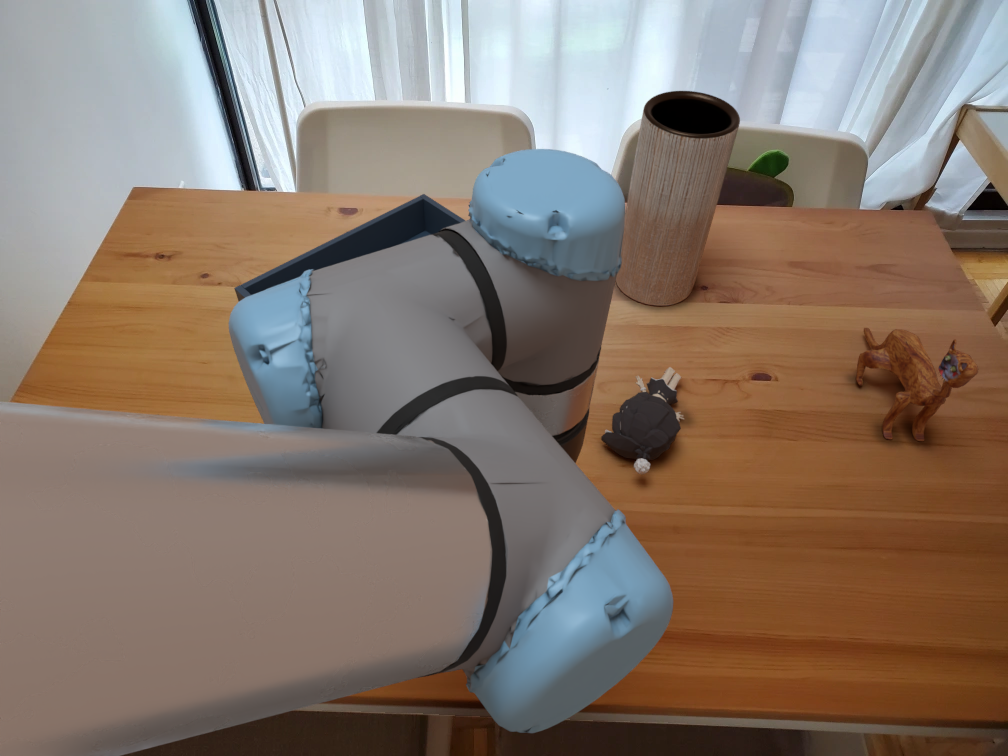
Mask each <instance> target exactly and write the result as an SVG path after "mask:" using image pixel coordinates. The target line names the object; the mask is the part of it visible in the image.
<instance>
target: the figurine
mask: <svg viewBox="0 0 1008 756" xmlns="http://www.w3.org/2000/svg"><path fill="white" fill-rule="evenodd" d="M634 378H635V379H636V381H635V382H634V383H635V384H636V385H637V386H638V387H639V388H640V389H639V390H640V392H637V393H636V394H635V395H633V396H632V397H630V398H627V399H625V400H624V402H623V403H622V404H621V405H620V406H619V411H617V412H615V413H613V415H612V419H611V422H612V423H611V430H612V431H611V430H608V429H605V430H604V434H602V436H601V437H600V439H601V441H602V442H603V443H604V444H605V445H606V446H607V447H609V448H610V449H611V450H612V451H614V453H616V454H618V455H619V456H620V457H623V458H625V459H631V460H636V461H634V463H633V468H634V470H635V472H636V473H637V474H640V475H645V474H647V473H648V472H649V471H650V470H651V469H650V468H651V463H650V462H649V461H653V460H656V459H658V458H659V457H660V456H661V454H663V453H665V452H667V451H668V450H669V449H670V448H671V445H672V443H674V442H675V440H676V438H677V434H678V433H679V432H680V431H681V429H682V428H681V424H680V421H681V420H683V421H684V420H685V418H684V415H685V414H681V413H682V412H681V411H678V412H676V411H675V409H674V408H673V407H672V405H674V404H677V403H679V400H678V398H677V396H678V391H677V389H676V388H677V386H678V385H679V382H680V381H681V379H682V376H681V375H680V374H679V373H678V372H676V370H675V369H673V368H672V367H671V366H669V367H668V368H666V369H665V371H664V372H663V375H662V376H661V377H660V378H657V379H656V378H653V377H650V379H649V382H647V383H646V387H647V388H646V387H645V384H644V381H643V378H642V377H640V376H639V375H637V376H636V375H635V377H634ZM647 390H648V391H647ZM680 419H681V420H680Z"/></svg>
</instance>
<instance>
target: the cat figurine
mask: <svg viewBox="0 0 1008 756" xmlns="http://www.w3.org/2000/svg"><path fill="white" fill-rule="evenodd" d="M863 334H864V337H865V339H866V341H867V344H868V347H869V348H870V349H868V350H865V351H864V352H862V353H860V354H859V355H858V358H857V364H856V374H855V375H856V376H855V380H856V383H857V384H858V385H859V386H861V387H862V386H863V385H864V381H863V377H864V374H865V371H866V367H867V368H869V369H870V370H872V369H874V370H875V369H884V370H887V371H888V372H891V373H892V374H894V376H896V378H897V379H898V380H899V381H900V383H901V385H902V386H903V389H904V391H898V392H896V394H895V400H894V403H893V405H892V406H891V408H890V409H889V410H888V411H887V413H886V414H885V416H884V418H883V421H882V426H881V429H882V436H883V438H884V439H886V440H893V439H894V437H893V431H892V430H893V426H894V423H895V421H896V419H897V417H898V416H899V415H900V414H901V413H903V412H904V410H905V409H906V407H907V406H908V405H910V404H912V405H916V406H918V407H923V408H922V409H921V410H919V412H918V413H917V415H916V417H915V418H914V420H913V422H912V426H911V432H912V433H911V434H912V436H913V439H914V440H915V441H917V442H924V441H925V428H926V425H927V422H928V421H929V420H930V418H931V417H933V416H934V415H935V414H936V413H937V411H939V409H940V407H942V405H945V403H946V402H947V398H949V397H950V395H951V393H952V389H959V388H961V387H964V386H966V385H967V384H968V383H969V382H970V381H971V380H972V379H974V377H975V376H977V375H978V373H979V371H980V369H979V366H978V364H977V362H976V361H975V359H974V358H973V356H971V355H970V354H967V353H966V352H964V351H961V350H959V349H957V339H956V338H954V339H953V340H952V342H951V343H950V346H949V348H948V351H947V353H946V354H945V355H944V356H943V358H942V359H941V361H940V364H939V365H938V368H937V369H938V373H939V374H940V375H939V377H942V378H941V380H943V381H942V385H941V384H940V381H939V379H938V375H937V371H936V369H935V366H934V363H933V362H932V360H931V357H930V356H929V354H928V353H927V350H926V349H925V348H924V346H923V342H922V341H921V338H920V336H919V335H917V334H915V333H913V332H912V331H909V330H906V329H900V328H895V329H892V331H891V332H889V334H888V335H887V336H886V338H885V339H884V341H882V343H881V344H879V343H878V342H877V341H876V339H875V337H874V335H873V332H872V331H871V329H870V328H868V327H863Z"/></svg>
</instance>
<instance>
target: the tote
mask: <svg viewBox="0 0 1008 756" xmlns="http://www.w3.org/2000/svg"><path fill="white" fill-rule="evenodd" d="M464 221H467V220H466V219H464V218H462V217H461V216H459V215H458V214H456V213H455V212H453V211H452V210H450V209H448V208H447V207H445V206H444V205H442V204H441V203H439V202H438V201H436V200H434V199H433V198H431V197H430V196H428V195H426V194H425V193H422V194H420V195H419V196H416V197H415V198H413V199H410V200H408V201H407V202H404V203H402V204H401V205H398V206H397V207H395V208H393V209H390V210H388V211H387V212H385V213H383V214H380V215H378V216H376V217H373V218H372V219H370V220H368V221H366V222H364V223H362V224H360V225H358V226H356V227H354V228H352V229H350V230H348V231H345V232H344V233H342V234H340V235H338V236H336V237H334V238H332V239H330V240H328V241H326V242H324V243H322V244H320V245H318V246H316V247H313V248H312V249H310V250H308V251H305V252H304V253H302V254H300V255H298V256H296V257H294V258H292V259H290V260H287V261H286V262H284V263H282V264H280V265H277V266H276V267H274V268H272V269H270V270H268V271H266V272H264V273H262V274H260V275H257V276H256V277H254V278H252V279H250V280H247V281H245V282H244V283H242V284H239V285H237V286H235V287H234V291H235V292H234V293H235V295H236V298H237V301H238V302H239V301H241V300H242V299H244V298H245V297H248V296H250V295H253V294H256V293H259V292H261V291H264V290H266V289H268V288H271V287H273V286H276V285H279V284H281V283H284V282H287V281H290V280H292V279H295V278H298V277H300V276H301V275H302V274H303V273H304V271H306V270H311V269H314V271H315V270H318V269H321V268H325V267H328V266H331V265H334V264H338V263H341V262H344V261H348V260H351V259H354V258H357V257H361V256H364V255H367V254H370V253H374V252H377V251H380V250H384V249H387V248H390V247H393V246H396V245H400V244H403V243H406V242H409V241H412V240H415V239H418V238H422V237H425V236H428V235H432V234H435V233H438V232H439V231H440V230H441V229H443V228H446V227H449V226H452V225H455V224H459V223H462V222H464Z"/></svg>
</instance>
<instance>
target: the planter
mask: <svg viewBox="0 0 1008 756" xmlns="http://www.w3.org/2000/svg"><path fill="white" fill-rule="evenodd" d="M641 115H642V116H641V120H640V126H639V132H638V137H637V144H636V149H635V154H634V160H633V166H632V173H631V178H630V184H629V190H628V194H627V201H626V205H625V223H624V233H623V241H622V251H621V258H622V260H621V261H622V264H621V268H620V270H619V272H618V274H617V276H616V281H615V284H616V285H617V287H618V288H619V290H620V291H621V292H622V293H623V294H625V296H627V297H628V298H630V299H632V300H634V301H636V302H639V303H642V304H645V305H651V306H671V305H675V304H678V303H681V302H682V301H684V300H685V299H687V298H688V297H689V296H690V295H691V292H692V291H693V288H694V285H695V284H696V283H695V282H696V280H697V276H698V272H699V269H700V266H701V261H702V259H703V255H704V252H705V249H706V244H707V241H708V238H709V234H710V232H711V231H710V230H711V227H712V224H713V220H714V216H715V212H716V209H717V205H718V203H719V199H720V195H721V192H722V188H723V184H724V181H725V177H726V174H727V171H728V167H729V162H730V160H731V156H732V152H733V149H734V146H735V142H736V138H737V136H738V135H737V134H738V132H739V128H740V123H741V117H740V114H739V113H738V111H737V109H736V108H735V107H734V106H733V105H732V104H731V103H729V102H727V101H725V100H724V99H722V98H719V97H717V96H715V95H711V94H709V93H705V92H699V91H692V90H671V91H666V92H661V93H659V94H656V95H654V96H653V97H651V98H649V99H648V100H647V101H646V103H645V104H644V106H643V110H642V114H641Z"/></svg>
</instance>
